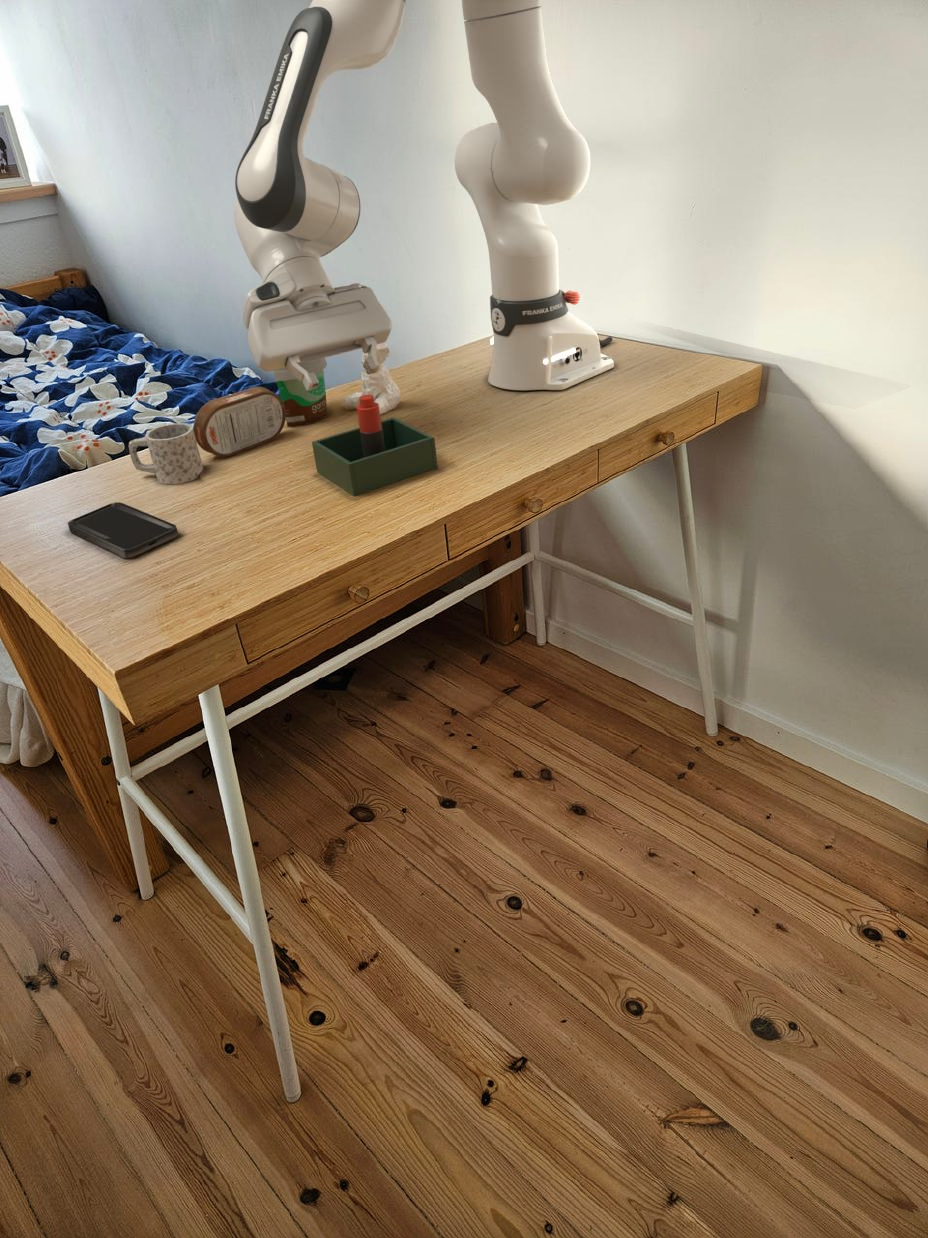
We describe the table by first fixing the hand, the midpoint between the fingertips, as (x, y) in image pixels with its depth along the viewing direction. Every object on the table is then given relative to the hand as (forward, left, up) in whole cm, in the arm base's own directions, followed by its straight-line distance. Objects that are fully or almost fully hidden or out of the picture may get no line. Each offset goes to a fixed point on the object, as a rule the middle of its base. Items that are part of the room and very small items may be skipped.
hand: (344, 379), depth 123 cm
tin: (+10, -18, -12) cm, 24 cm away
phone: (+34, -1, -12) cm, 36 cm away
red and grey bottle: (0, +6, -12) cm, 13 cm away
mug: (+23, -16, -12) cm, 30 cm away
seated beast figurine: (-13, -18, -12) cm, 25 cm away
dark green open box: (0, +6, -12) cm, 13 cm away
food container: (-4, -23, -12) cm, 26 cm away
